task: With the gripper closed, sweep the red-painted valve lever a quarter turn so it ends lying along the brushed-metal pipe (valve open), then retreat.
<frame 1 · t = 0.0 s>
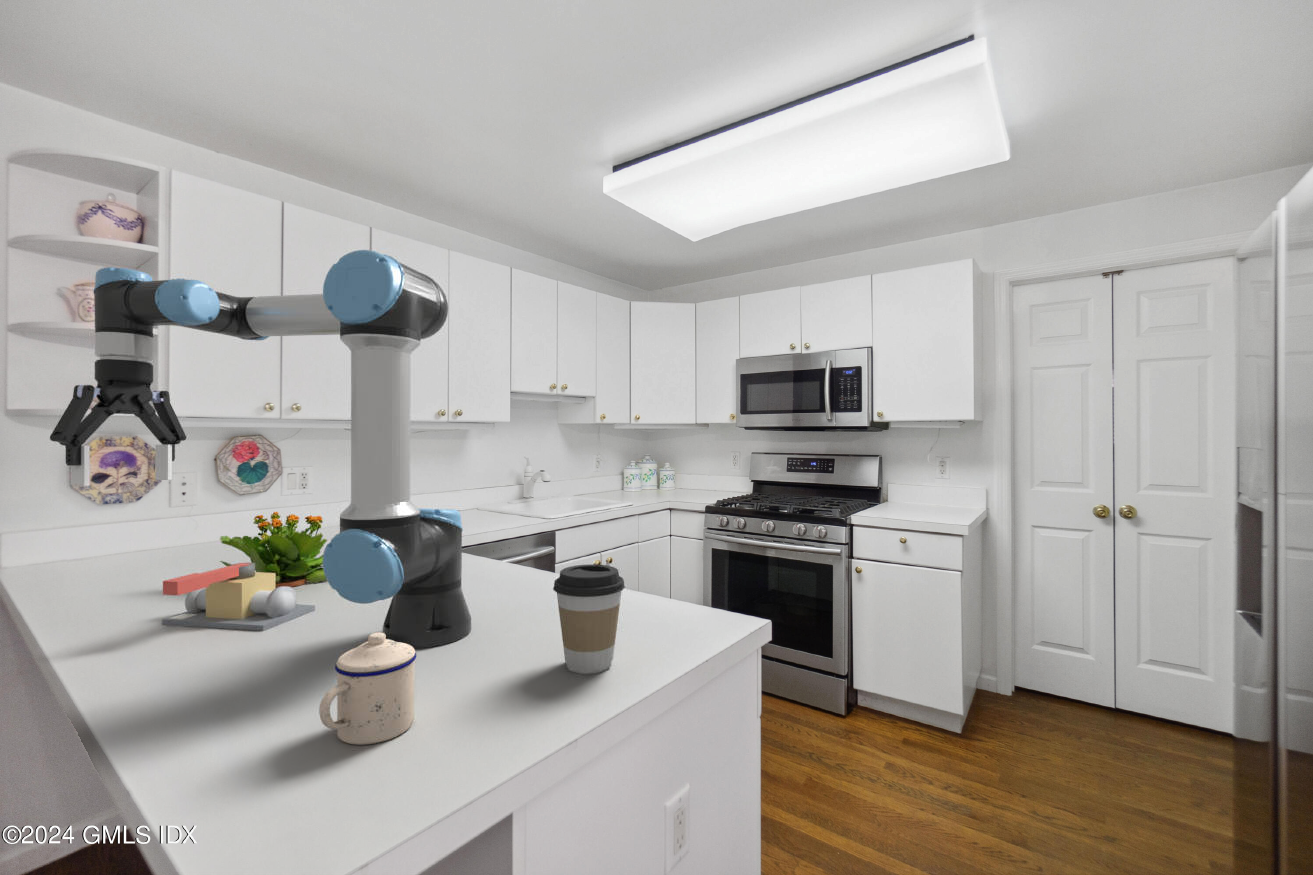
hand: (124, 482, 101), 28 cm above the counter, fingers open, 13 cm apart
lever: (213, 577, 110), point 9 cm above the counter, hinge at 90.0°
teacup with lid: (366, 734, 71), on the counter
potted flower: (280, 586, 141), on the counter
coffee cup: (589, 666, 92), on the counter
valve base: (241, 616, 116), on the counter
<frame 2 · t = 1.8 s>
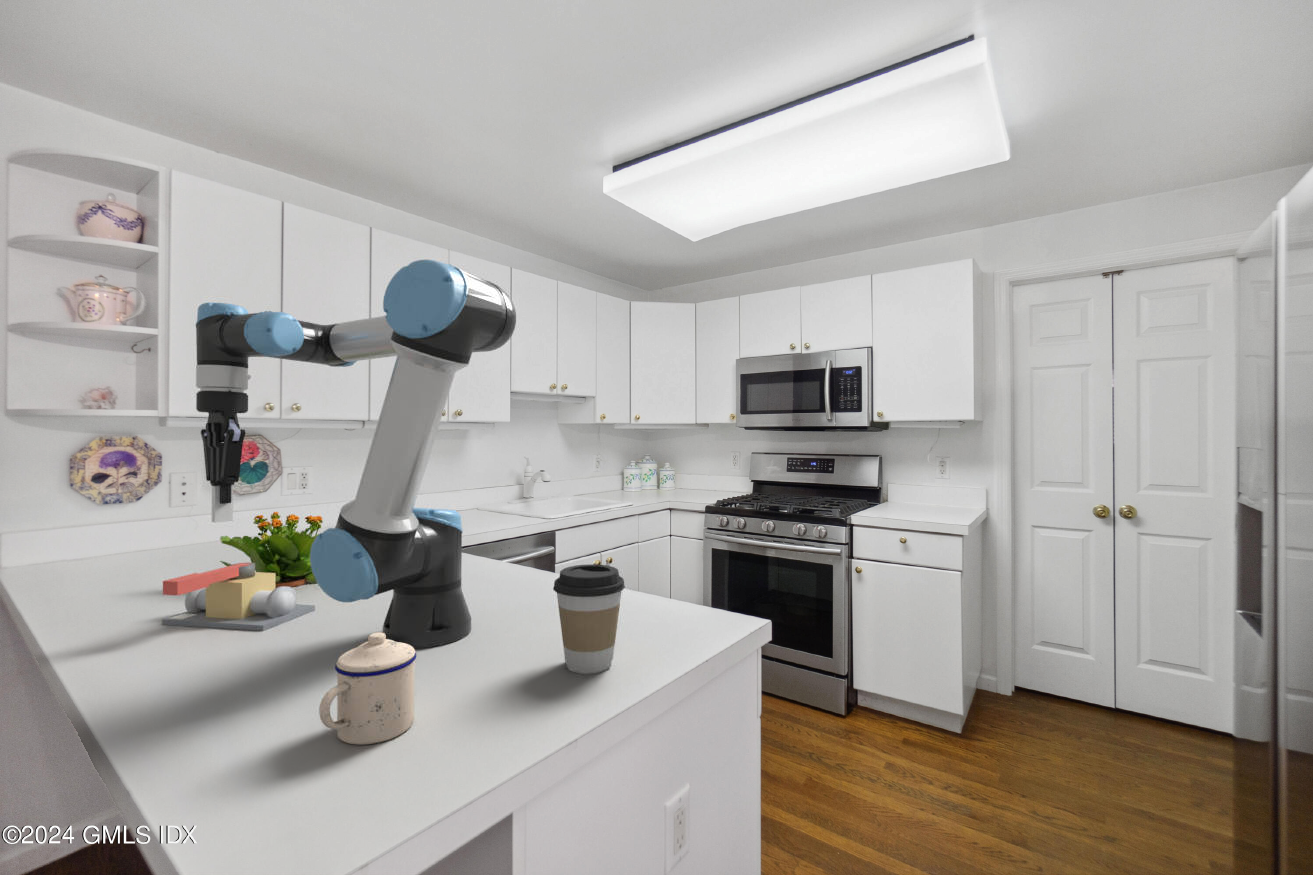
hand: (222, 521, 105), 21 cm above the counter, fingers closed
nothing on the counter moved.
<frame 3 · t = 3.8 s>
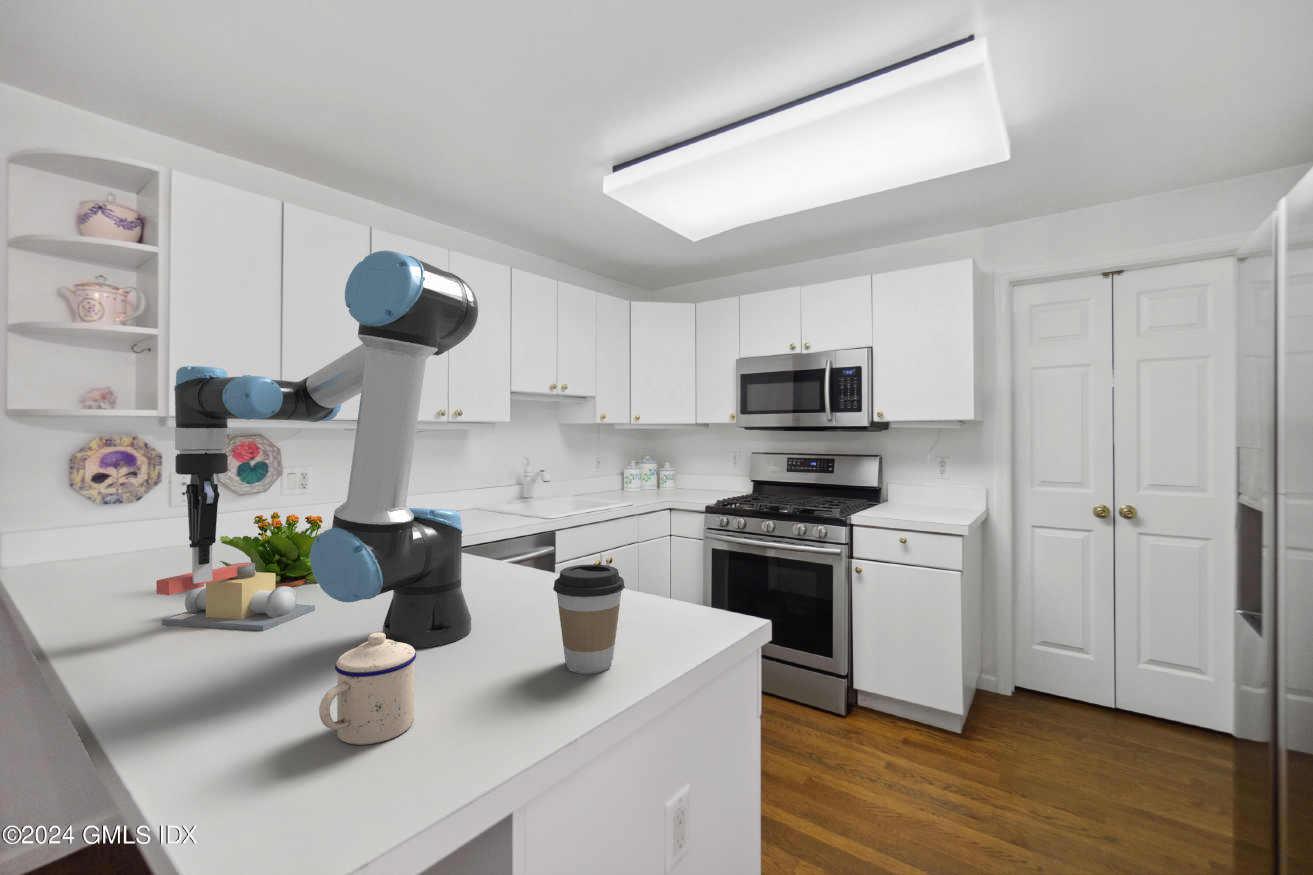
hand: (202, 581, 106), 10 cm above the counter, fingers closed
lever: (210, 577, 110), point 9 cm above the counter, hinge at 83.5°, touching gripper
everything else where it was.
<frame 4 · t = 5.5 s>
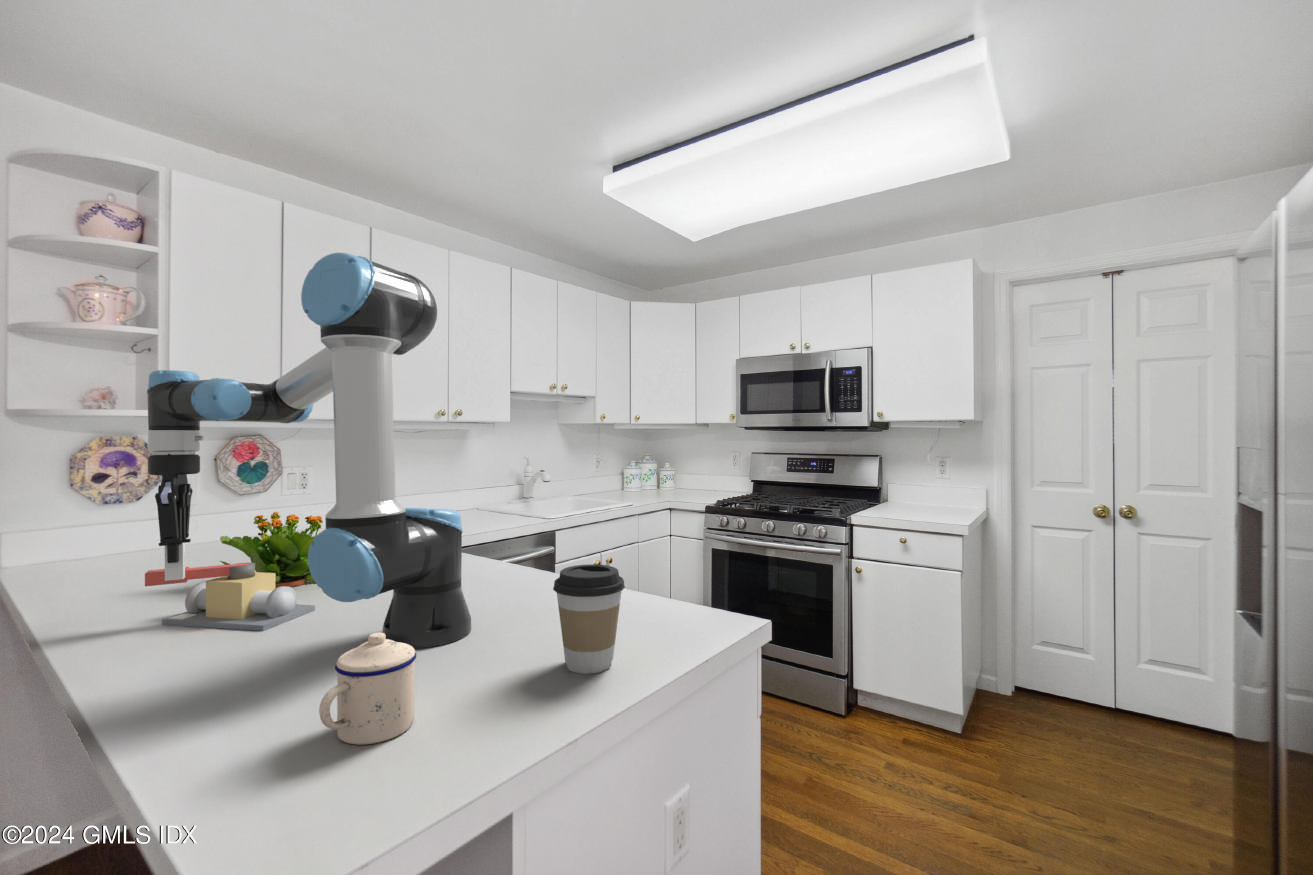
hand: (175, 579, 109), 9 cm above the counter, fingers closed
lever: (202, 573, 113), point 9 cm above the counter, hinge at 39.4°, touching gripper
everything else where it was.
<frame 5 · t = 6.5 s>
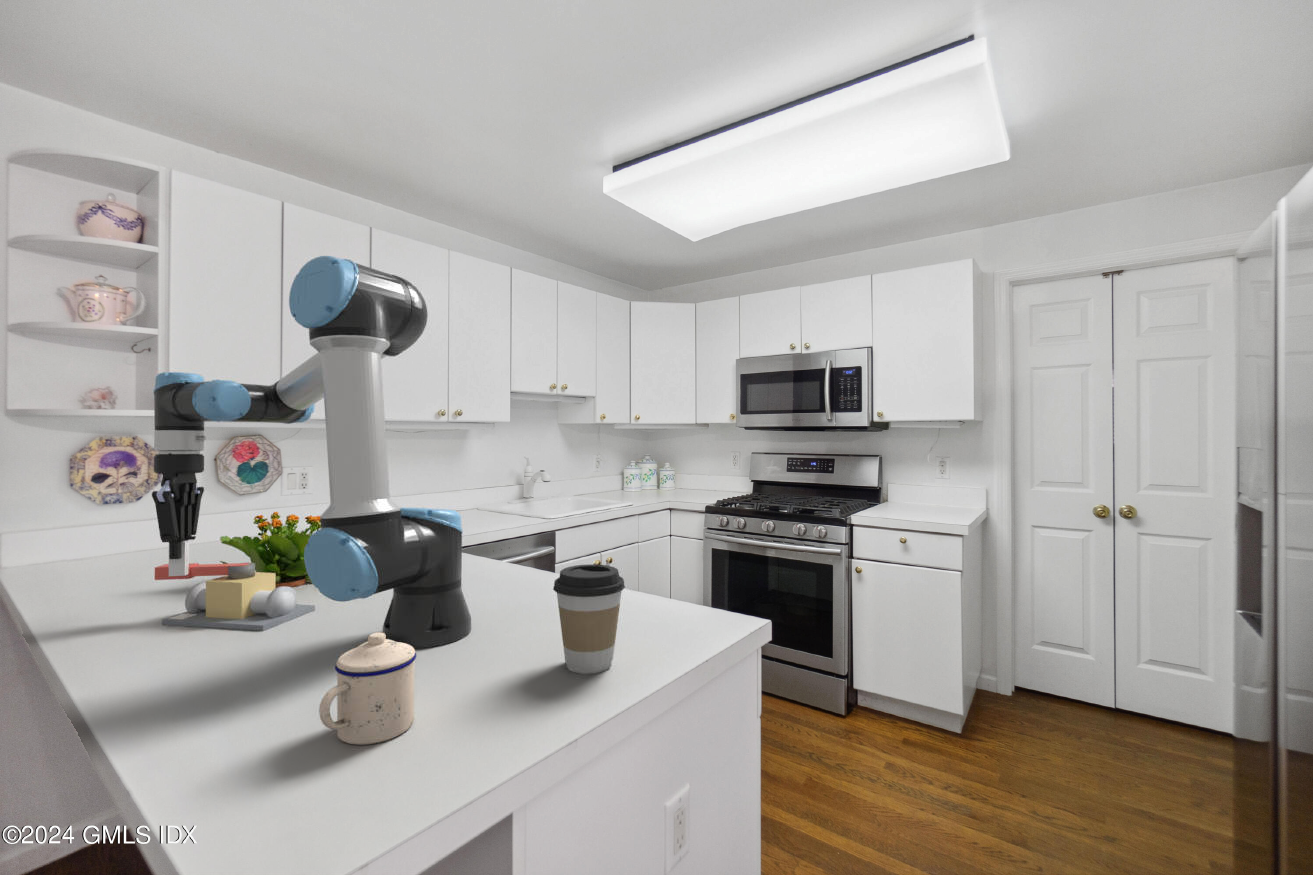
hand: (178, 574, 112), 9 cm above the counter, fingers closed
lever: (207, 571, 115), point 9 cm above the counter, hinge at 18.4°, touching gripper
everything else where it was.
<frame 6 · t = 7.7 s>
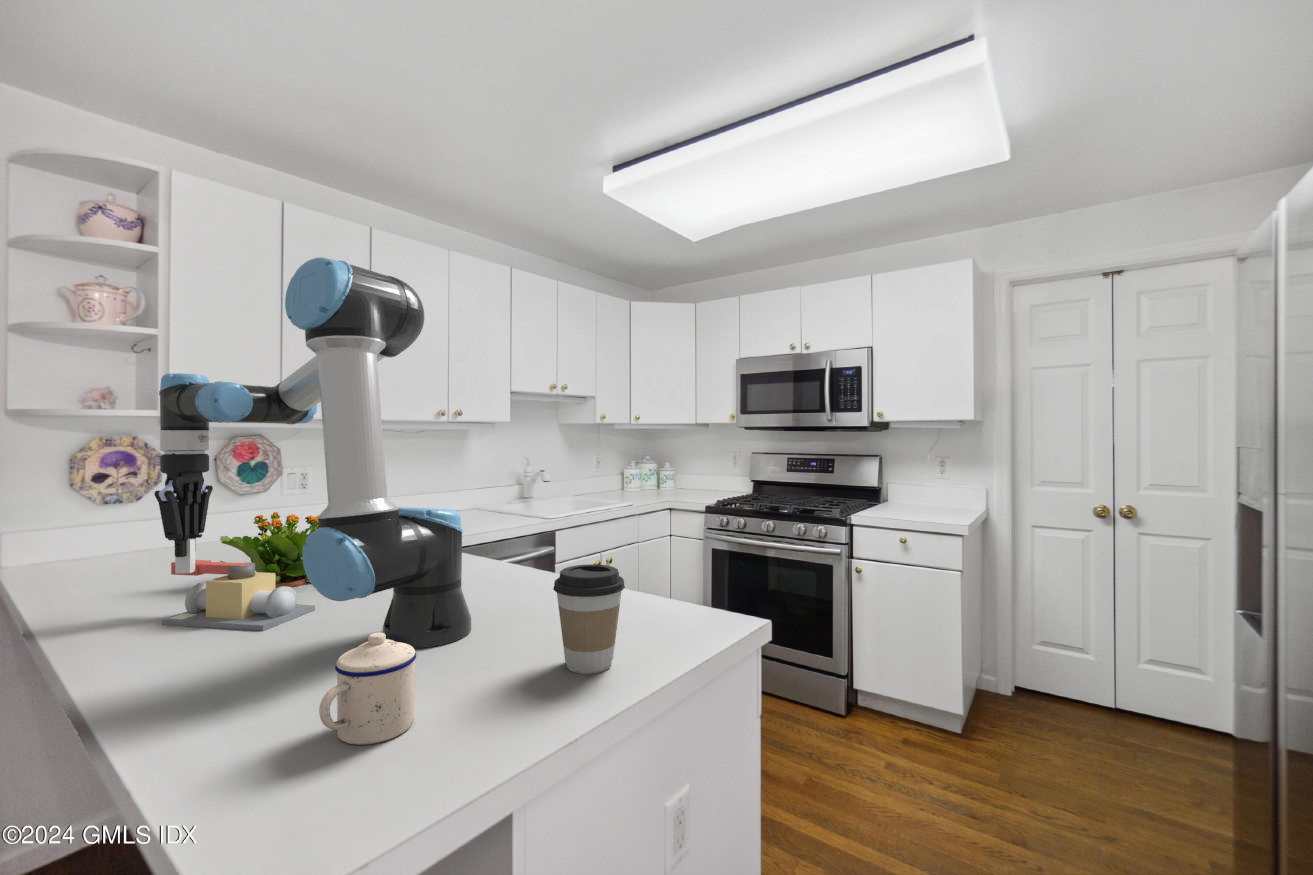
hand: (185, 572, 115), 9 cm above the counter, fingers closed
lever: (214, 569, 117), point 9 cm above the counter, hinge at 0.9°
everything else where it was.
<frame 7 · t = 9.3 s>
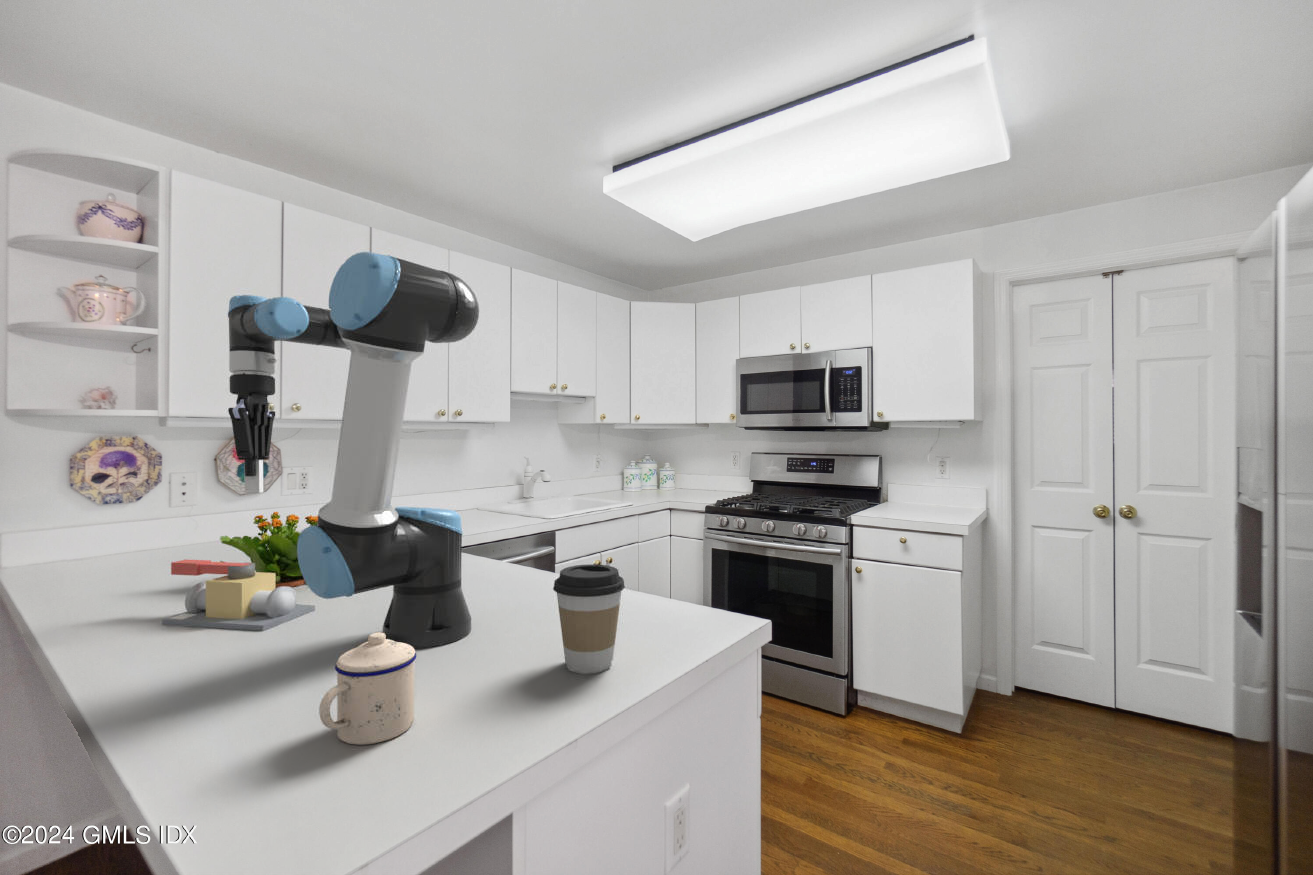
hand: (254, 492, 116), 25 cm above the counter, fingers closed
nothing on the counter moved.
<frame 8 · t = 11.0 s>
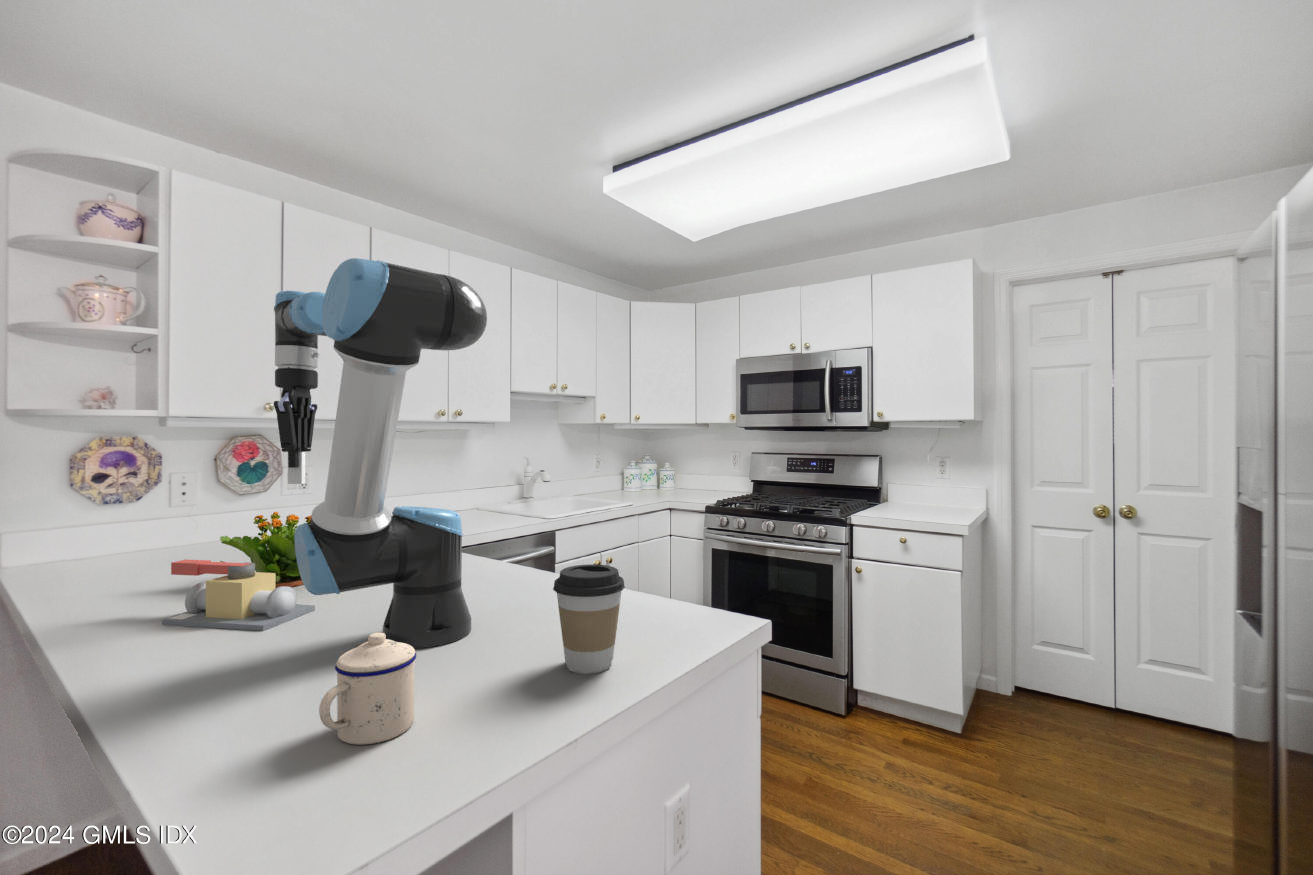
hand: (296, 483, 120), 26 cm above the counter, fingers closed
nothing on the counter moved.
at the end: lever at +1° (first picture: +90°) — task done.
